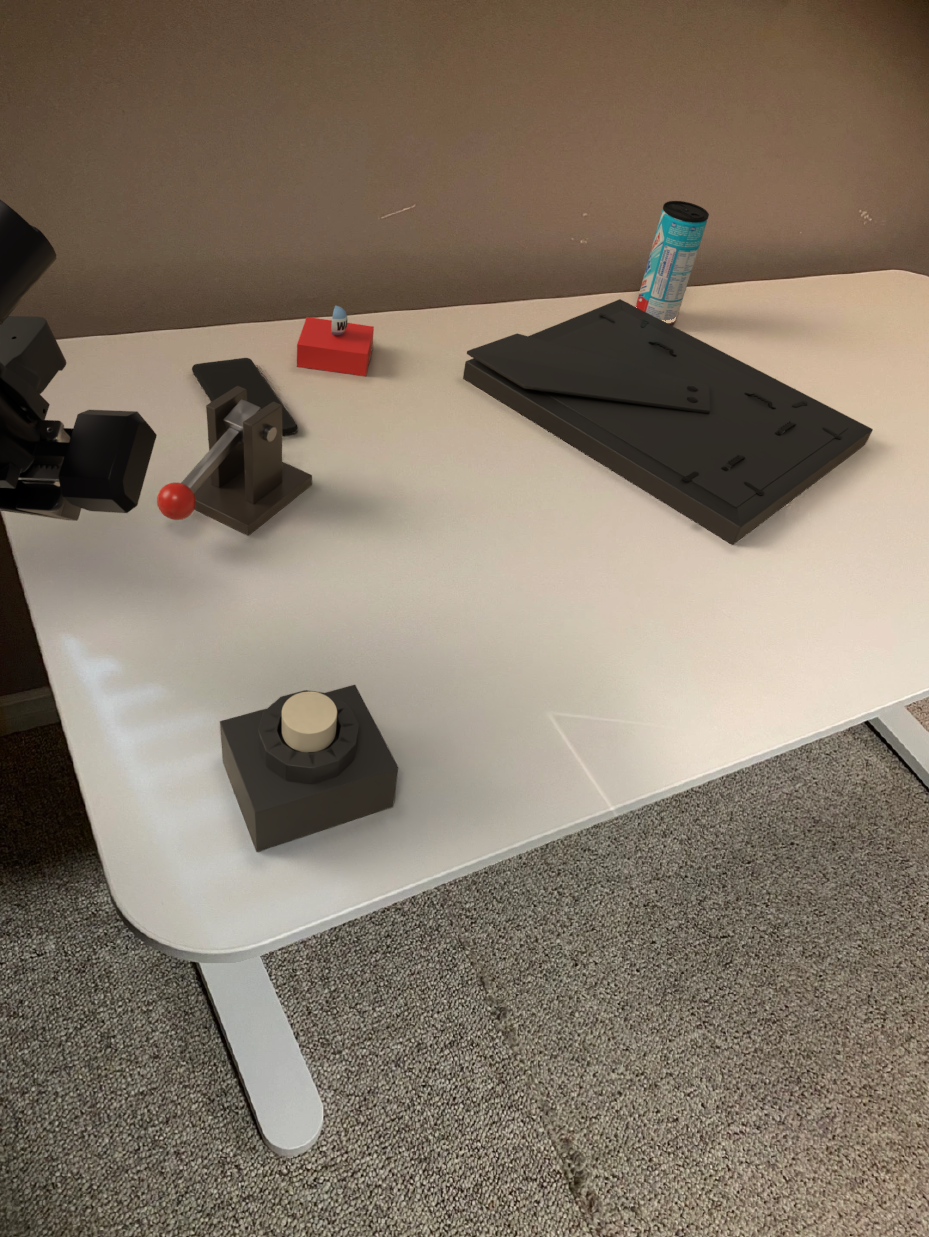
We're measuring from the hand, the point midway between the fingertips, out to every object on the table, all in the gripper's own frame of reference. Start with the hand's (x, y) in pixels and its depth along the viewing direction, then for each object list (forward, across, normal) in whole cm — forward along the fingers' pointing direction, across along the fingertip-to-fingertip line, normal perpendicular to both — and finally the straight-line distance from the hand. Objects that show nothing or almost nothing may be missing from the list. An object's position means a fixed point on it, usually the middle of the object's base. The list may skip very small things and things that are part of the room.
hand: (75, 514), depth 67 cm
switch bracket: (+20, -3, -13) cm, 24 cm away
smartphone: (+26, +3, -26) cm, 37 cm away
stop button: (+4, -19, +13) cm, 24 cm away
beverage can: (+54, -40, -59) cm, 89 cm away
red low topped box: (+34, -3, -38) cm, 51 cm away
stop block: (+9, -18, +16) cm, 26 cm away
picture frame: (+43, -42, -37) cm, 70 cm away
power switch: (+14, -2, -11) cm, 18 cm away
